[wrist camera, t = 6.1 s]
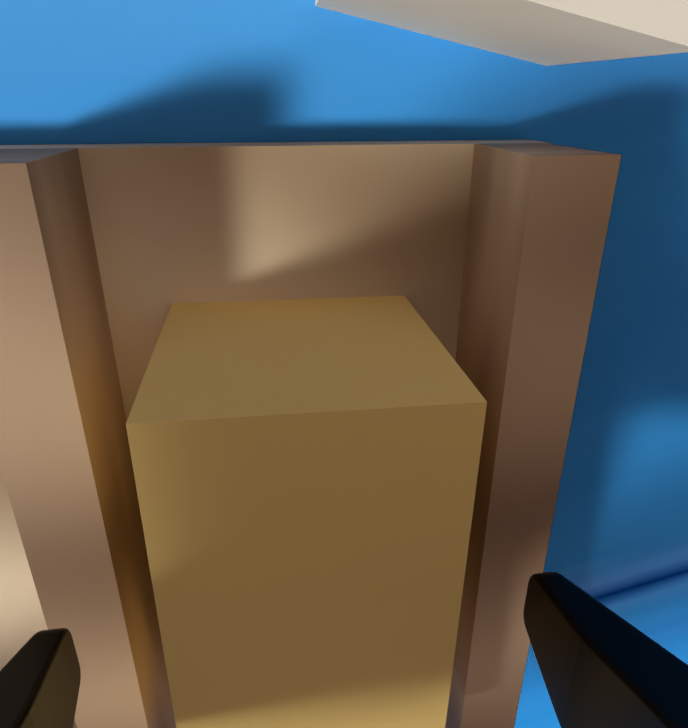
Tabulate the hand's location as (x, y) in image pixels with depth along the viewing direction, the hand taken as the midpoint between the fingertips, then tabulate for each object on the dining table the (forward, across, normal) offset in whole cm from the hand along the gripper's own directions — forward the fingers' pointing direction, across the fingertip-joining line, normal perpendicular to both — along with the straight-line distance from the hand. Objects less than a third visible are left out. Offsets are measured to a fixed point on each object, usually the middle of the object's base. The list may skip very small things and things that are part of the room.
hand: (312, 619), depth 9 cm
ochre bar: (+3, 0, 0) cm, 3 cm away
